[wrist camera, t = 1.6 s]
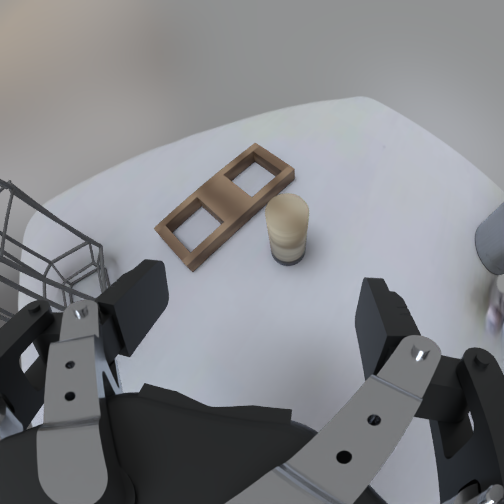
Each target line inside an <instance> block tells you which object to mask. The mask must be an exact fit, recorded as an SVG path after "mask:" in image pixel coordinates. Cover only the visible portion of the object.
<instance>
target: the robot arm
mask: <svg viewBox="0 0 504 504" xmlns="http://www.w3.org/2000/svg"><path fill="white" fill-rule="evenodd" d="M475 242H476V248H477V252H478V254H479V257H480V259H481V261H482V262H483V264H484V265H485V266H486V268H487V269H488V270H490V271H491V272H493V273H494V274H498V275H502V274H504V202H503V203H502V204H501V205H500V206H499V207H498V208H497V209H496V210H495V211H494V212H493V213H492V214H491V215H490V216H489V217H488V218H487V219H486V220H485V221H484V222H483V223H481V224H480V226H479V227H478V229H477V231H476V235H475ZM168 300H169V293H168V286H167V279H166V272H165V266H164V263H163V262H162V261H158V260H148V259H145V260H143V261H142V262H141V263H140V264H139V265H138V266H136V267H135V268H134V269H133V270H131V271H129V272H127V273H125V274H123V275H122V276H121V277H120V278H119V279H117V282H116V281H115V282H114V283H113V284H112V285H111V287H108V288H107V289H106V290H105V291H104V292H103V293H102V294H101V295H100V296H98V297H97V298H96V299H95V300H94V301H92V300H80V301H77V302H74V303H72V304H71V305H69V306H68V307H67V308H66V309H65V310H64V313H52V310H51V307H50V304H49V302H48V301H45V300H37V301H33V302H31V303H29V304H27V305H26V306H25V307H23V308H22V309H21V310H20V311H19V312H18V313H17V314H16V315H14V316H13V317H12V318H11V319H10V320H9V321H8V322H7V323H6V324H4V325H3V326H2V327H1V328H0V504H387V503H386V502H385V501H384V500H383V499H382V498H381V497H380V496H379V495H378V494H377V493H376V492H375V490H374V489H373V488H372V487H371V486H370V485H369V483H370V482H371V481H372V479H373V478H374V477H375V475H376V474H377V473H378V471H379V470H380V469H381V467H382V466H383V465H384V463H385V462H386V460H387V459H388V457H389V456H390V454H391V453H392V451H393V450H394V448H395V447H396V445H397V444H398V442H399V441H400V439H401V437H402V436H403V434H404V432H405V431H406V429H407V427H408V426H409V424H410V422H411V420H412V419H413V417H419V418H424V419H429V422H430V427H431V433H432V438H433V444H434V450H435V457H436V464H437V472H438V481H439V492H440V504H504V375H503V373H502V371H501V369H500V367H499V365H498V363H497V361H496V359H495V358H494V356H493V355H492V354H491V353H489V352H488V351H486V350H484V349H481V348H475V347H474V348H469V349H468V350H466V351H465V353H464V355H463V357H462V359H457V358H452V357H447V356H443V355H441V350H440V348H439V347H438V345H437V344H436V343H435V342H434V341H432V340H431V339H429V338H427V337H424V336H421V334H420V332H419V330H418V328H417V326H416V324H415V322H414V320H413V318H412V316H411V314H410V312H409V310H408V309H407V306H406V304H405V302H404V300H403V298H401V297H400V296H399V295H398V294H397V293H396V292H391V291H389V289H388V287H387V285H386V283H385V281H384V279H382V278H366V277H365V278H364V279H363V282H362V287H361V292H360V296H359V301H358V305H357V310H356V315H355V328H356V333H357V338H358V343H359V348H360V354H361V359H362V364H363V370H364V376H365V383H364V384H363V385H362V386H361V387H360V389H359V390H358V391H357V392H356V393H355V394H354V396H353V397H352V398H351V399H350V400H349V401H348V402H347V403H346V405H345V406H344V407H343V408H342V409H341V410H340V411H339V412H338V413H337V414H336V415H335V416H334V418H333V419H332V420H331V421H330V422H329V423H328V424H327V425H326V426H325V427H324V428H323V429H322V430H321V431H320V432H319V433H318V432H316V431H315V430H313V429H311V428H309V427H308V426H306V425H303V424H301V423H298V422H295V421H292V420H291V413H292V409H280V408H270V407H261V406H253V405H252V406H234V407H210V406H207V405H205V404H202V403H200V402H198V401H196V400H193V399H191V398H189V397H187V396H185V395H183V394H181V393H179V392H177V391H172V390H168V389H164V388H160V387H157V386H153V385H149V384H146V383H144V385H143V387H142V388H141V390H140V392H139V393H138V392H135V393H123V391H122V385H121V380H120V375H119V369H118V363H117V360H116V358H115V357H116V356H117V355H118V354H120V355H123V356H127V357H130V356H131V355H132V354H133V352H134V351H135V349H136V348H137V347H138V345H139V344H140V343H141V341H142V340H143V338H144V337H145V336H146V334H147V333H148V332H149V330H150V329H151V328H152V326H153V325H154V323H155V322H156V321H157V319H158V318H159V317H160V315H161V314H162V313H163V311H164V310H165V309H166V307H167V305H168ZM32 342H33V344H34V346H35V348H36V350H37V352H38V354H39V357H38V358H37V359H36V361H35V362H34V363H33V364H32V365H31V366H30V368H29V369H28V370H27V371H26V372H25V373H23V371H22V369H21V368H20V365H19V358H20V356H21V354H22V353H23V352H24V351H25V350H26V349H27V347H28V346H29V345H30V344H31V343H32ZM43 404H44V422H43V424H41V425H38V426H36V427H33V428H30V429H27V427H28V426H29V424H30V423H31V421H32V420H33V418H34V417H35V415H36V414H37V412H38V411H39V409H40V408H41V407H42V405H43ZM469 412H471V415H472V419H473V422H474V431H473V430H472V426H471V423H470V419H469V416H468V413H469ZM26 429H27V430H26Z"/></svg>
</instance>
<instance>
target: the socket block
mask: <svg viewBox="0 0 504 504" xmlns="http://www.w3.org/2000/svg"><path fill="white" fill-rule="evenodd" d="M253 162H256V163H258V164H259V165H261V166H262V167H263V168H265V169H266V170H268V171H269V172H270V173H272V174H273V175H275V176H276V177H275V178H274V179H273V180H271V181H270V182H269V183H268V184H267V185H266V186H264V187H263V188H262V189H261V190H260V191H259V192H258V193H256V194H255V195H254V196H253V197H251V196H249V195H248V194H247V193H246V192H244V191H243V190H242V189H241V188H239V187H238V186H237V185H235V184H234V183H233V182H232V181H231V180H233V179H234V178H235V177H236V176H238V175H239V174H240V173H241V172H242V171H244V170H245V169H246V168H247V167H248V166H250V165H251V164H252V163H253ZM294 179H295V172H294V168H292V167H291V166H290V165H288V164H287V163H285V162H284V161H282V160H281V159H279V158H278V157H276V156H275V155H273V154H272V153H270V152H269V151H267V150H266V149H264V148H263V147H261V146H260V145H258V144H256V143H254V144H253V145H252V146H250V147H249V148H248V149H247V150H245V151H244V152H243V153H241V154H240V155H239V156H238V157H236V158H235V159H234V160H232V161H231V162H230V163H229V164H227V165H226V166H225V167H224V168H223V169H221V170H220V171H219V172H218V173H216V174H215V175H214V176H213V177H212V178H210V179H209V180H208V181H207V182H206V183H204V184H203V185H202V186H201V187H200V188H198V189H197V190H196V191H195V192H194V193H193V194H191V195H190V196H189V197H188V198H187V199H186V200H185V201H183V202H182V203H181V204H180V205H179V206H178V207H177V208H175V209H174V210H173V211H172V212H171V213H170V214H169V215H168V216H167V217H165V218H164V219H163V220H162V221H161V222H160V223H159V224H158V225H157V226H156V227H155V228H154V229H155V231H156V232H157V233H158V234H159V235H160V236H161V238H162V239H163V240H164V241H165V242H166V243H167V244H168V246H169V247H170V248H171V249H172V250H173V251H174V252H175V254H176V255H177V256H178V257H179V258H180V259H181V260H182V262H183V263H184V264H185V265H186V266H187V267H188V268H189V269H190V270H191V271H192V272H193V271H194V270H195V269H197V268H198V267H199V266H200V265H201V264H202V263H203V262H204V261H205V260H206V259H207V258H208V257H209V256H210V255H211V254H213V253H214V252H215V251H216V250H217V249H218V248H219V247H220V246H221V245H222V244H223V243H224V242H226V241H227V240H228V239H229V238H230V237H231V236H232V235H233V234H234V233H235V232H236V231H237V230H239V229H240V228H241V227H242V226H243V225H244V224H245V223H246V222H247V221H248V220H250V219H251V218H252V217H253V216H254V215H255V214H256V213H257V212H258V211H259V210H261V209H262V208H263V207H264V206H265V205H266V204H267V203H268V202H269V201H270V200H271V199H272V198H274V197H275V196H276V195H277V194H278V193H280V192H281V191H282V190H283V189H284V188H285V187H286V186H287V185H289V184H290V183H291V182H292V181H293V180H294ZM201 206H203V207H204V208H205V209H206V210H207V211H208V212H209V213H210V214H211V215H212V216H213V217H214V218H216V219H217V220H218V221H219V222H220V223H221V225H220V226H219V227H218V228H217V229H216V230H215V231H214V232H213V233H212V234H210V235H209V236H208V237H207V238H206V239H205V240H204V241H203V242H202V243H201V244H200V245H198V246H197V247H196V248H195V249H194V250H193V251H192V252H191V253H190V252H189V251H188V250H187V249H186V248H185V247H184V245H183V244H182V243H181V242H180V241H179V240H178V239H177V238H176V237H175V236H174V235H173V233H172V232H173V231H174V230H176V229H177V228H178V227H179V226H180V225H181V224H182V223H183V222H184V221H185V220H187V219H188V218H189V217H190V216H191V215H192V214H193V213H194V212H195V211H197V210H198V209H199V208H200V207H201Z"/></svg>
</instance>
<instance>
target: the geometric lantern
mask: <svg viewBox="0 0 504 504" xmlns="http://www.w3.org/2000/svg"><path fill="white" fill-rule="evenodd" d="M0 186H1V187H2V188H1V189H0V192H1V191H2V190H4V189H8V188H9V191H10V192H11V195H10V199H9V203H8V208H7V213H6V218H5V223H4V229H3V232H1V231H0V235H1V236H2V242H1V248H0V262H2V263H4V264H6V265H8V266H10V267H12V268H14V269H16V270H18V271H20V272H22V273H25V274H27V275H29V276H31V277H33V278H36V279H38V280H40V281H42V282H43V297H42V296H40V295H38V294H36V293H34V292H32V291H30V290H28V289H26V288H24V287H22V286H20V285H18V284H16V283H14V282H12V281H10V280H9V279H7V278H5V277H3V276H1V275H0V281H1V282H3V283H5V284H7V285H9V286H11V287H13V288H15V289H17V290H18V291H20V292H22V293H24V294H26V295H29V296H31V297H33V298H35V299H37V300H45V301H48V302H49V304H50V306H52V307H55V308H57V309H59V310H61V311H64V310H65V309H66V308H67V305H66V299H65V293H64V291H66V292H69V296H70V302H71V304H72V303H73V302H72V296H71V294H74V295H76V296H79V297H81V298H84V299H87V300H92V301H94V300H95V299H96V298H93V297H91V296H88V295H86V294H83V293H81V292H78V291H76V290H74V289H71V288H72V285H73V284H75V283H76V282H78V281H80V280H81V279H83V278H85V277H87V276H88V275H90V274H92V273H94V272H95V271H97V272H98V277H99V282H100V287H101V292H102V293H103V292H104V291H105V290H106V289H107V288H106V281H107V286H108V287H110V284H109V280H108V275H107V271H106V268H104V259H103V246H102V245H101V244H100V243H98V242H96V241H94V240H93V239H91V238H89V237H88V236H86V235H84V234H83V233H81V232H79V231H78V230H76V229H74V228H73V227H71V226H70V225H68V224H66V223H65V222H63V221H62V220H60V219H59V218H57V217H56V216H55V215H53V214H52V213H51V212H49V211H48V210H46V209H45V208H44V207H42V206H41V205H40V204H38V203H37V202H36V201H34V200H33V199H32V198H30V197H29V196H28V195H26V194H25V193H24V192H23V191H21V190H20V189H19V188H17V187H16V186H15V185H14V184H12V183H11V180H9V181H8V182H5V181H3V180H1V179H0ZM13 195H15V196H17V197H18V198H19V199H21V200H23V201H24V202H25V203H27V204H28V205H30V206H31V207H33V208H35V209H36V210H38V211H39V212H41V213H42V214H44V215H45V216H47V217H49V218H50V219H52V220H53V221H55V222H57V223H58V224H60V225H62V226H63V227H65V228H66V229H68V230H69V231H71V232H72V233H74V234H75V235H77V236H78V237H80V238H81V239H83V240H84V241H86V242H84V243H82V244H80V245H78V246H77V247H75V248H73V249H71V250H69V251H68V252H66V253H64V254H63V255H61V256H59V257H57V258H56V259H54V260H52V261H50V260H48V259H47V258H45V257H43V256H41V255H40V254H38V253H36V252H34V251H33V250H31V249H29V248H28V247H26V246H24V245H22V244H21V243H19V242H17V241H16V240H14V239H12V238H11V237H9V236H8V235H6V231H7V225H8V219H9V214H10V209H11V204H12V199H13ZM5 238H6V239H7V240H9V241H10V242H12V243H14V244H15V245H17V246H19V247H21V248H22V249H24V250H26V251H27V252H29V253H31V254H33V255H34V256H36V257H38V258H40V259H42V260H43V261H45V262H47V263H49V265H48V267H47V268H46V270H45V272H44V275H42V274H40V273H39V272H37V271H36V270H34V269H32V268H31V267H29V266H28V265H26V264H24V263H23V262H21V261H20V260H18V259H17V258H15V257H13V256H12V255H10V254H9V253H7V252H6V251H4V244H5ZM87 244H89V248H90V253H91V258H92V263H90V264H89V265H87V266H86V267H84V268H83V269H81V270H79V271H78V272H76V273H75V274H73V275H72V276H70V277H69V278H67V279H66V280H65V279H64V278H63V276H62V275H61V274H60V272H59V271H58V270H57V269H56V267H55V266H54V265H53V264H54V263H55V262H57V261H59V260H60V259H62V258H64V257H66V256H68V255H69V254H71V253H73V252H75V251H76V250H78V249H80V248H82V247H84V246H86V245H87ZM91 244H93V245H95V246H97V247H99V255H98V260H97V263H95V261H94V256H93V251H92V246H91ZM3 254H4V255H5V256H7V257H8V258H10V259H12V260H13V261H15V262H16V263H18V264H19V265H18V264H16V263H15V262H12V261H11V260H8V259H6V258H5V257H3ZM99 262H100V265H99ZM20 265H21V266H20ZM92 265H94V266H95V267H97V268H96V269H94V270H92V271H91V272H89V273H87V274H86V275H84V276H82V277H80V278H79V279H77V280H75V281H74V282H72V283H70V282H68V280H70V279H71V278H73V277H74V276H76V275H78V274H79V273H81V272H82V271H84V270H85V269H87V268H88V267H90V266H92ZM51 266H52V267H53V268H54V269H55V271H56V272H57V273H58V275H59V276H60V277H61V278H62V280H63V281H64V282H63V284H60V283H58V282H55V281H53V280H51V279H48V278H46V275H47V273H48V271H49V269H50V267H51ZM99 269H101V275H100V270H99ZM101 277H102V280H101ZM105 277H106V279H105ZM46 283H47V284H49V285H52V286H54V287H56V288H59V289H61V290H62V293H63V300H64V306H65V307H64V306H62V305H59V304H57V303H55V302H53V301H51V300H48V299H46ZM65 283H67V284H69V285H70V288H69V287H66V286H64V285H65ZM0 312H2V313H3V314H5V315H7V316H10V317H13V316H14V314H12V313H10V312H8V311H6V310H4V309H2V308H0ZM0 319H1V320H3V321H6V322H8V321H9V320H10V319H9V318H7V317H4V316H2V315H0Z"/></svg>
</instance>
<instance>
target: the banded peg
mask: <svg viewBox="0 0 504 504" xmlns="http://www.w3.org/2000/svg"><path fill="white" fill-rule="evenodd" d="M265 217H266V222H267V228H268V234H269V240H270V246H271V252H272V256H273V258H274V259H275V260H276V261H277V262H278V263H280V264H282V265H286V266H291V265H294V264H297V263H298V262H299V261H301V259H302V258H303V256H304V253H305V245H306V237H307V229H308V220H309V208H308V205H307V203H306V202H305V201H304V200H303V199H302V198H301V197H299V196H297V195H294V194H289V193H285V194H280V195H277V196H275V197H274V198H272V199H271V200H270V201H269V202H268V204H267V206H266V209H265Z"/></svg>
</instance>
